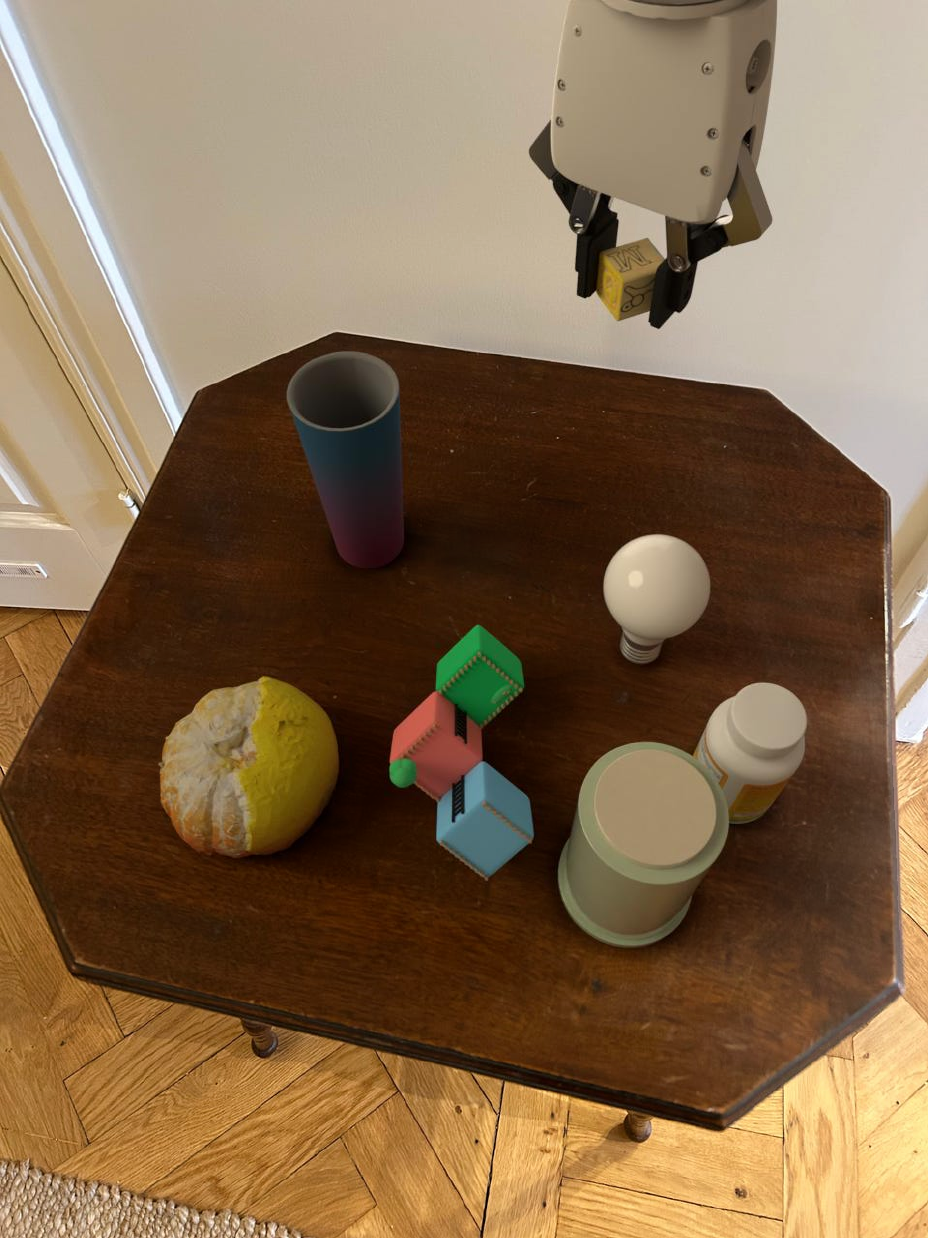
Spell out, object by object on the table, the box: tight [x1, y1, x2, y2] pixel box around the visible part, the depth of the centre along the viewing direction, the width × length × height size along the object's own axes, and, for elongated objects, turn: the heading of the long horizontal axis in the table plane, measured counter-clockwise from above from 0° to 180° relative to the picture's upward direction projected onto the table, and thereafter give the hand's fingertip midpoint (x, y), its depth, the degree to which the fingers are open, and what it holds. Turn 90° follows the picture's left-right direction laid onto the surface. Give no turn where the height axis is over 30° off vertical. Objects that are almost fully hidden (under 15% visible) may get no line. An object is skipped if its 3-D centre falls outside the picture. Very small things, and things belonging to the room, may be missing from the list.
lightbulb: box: [602, 533, 712, 665], centre depth 57 cm, size 6×6×11 cm
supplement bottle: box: [692, 682, 808, 825], centre depth 52 cm, size 5×5×10 cm
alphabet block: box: [595, 237, 666, 322], centre depth 53 cm, size 3×3×3 cm
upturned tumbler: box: [557, 741, 730, 949], centre depth 48 cm, size 8×8×12 cm
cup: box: [286, 351, 405, 569], centre depth 61 cm, size 7×7×15 cm
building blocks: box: [388, 624, 535, 882], centre depth 54 cm, size 8×8×12 cm
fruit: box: [157, 675, 340, 859], centre depth 55 cm, size 11×10×8 cm
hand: (630, 296), depth 54 cm, fingers closed on alphabet block, 4 cm apart
